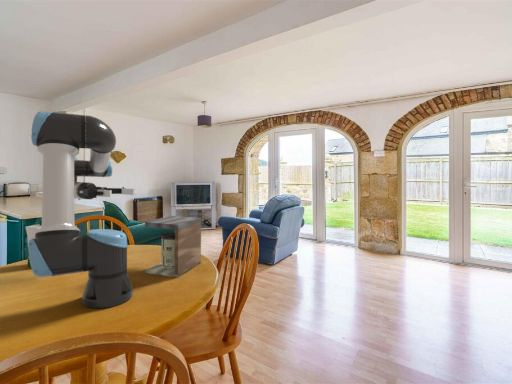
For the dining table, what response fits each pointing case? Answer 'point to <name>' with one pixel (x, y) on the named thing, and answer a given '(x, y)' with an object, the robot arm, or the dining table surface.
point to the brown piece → (180, 244)
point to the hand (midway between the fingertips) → (123, 192)
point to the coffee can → (168, 250)
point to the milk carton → (32, 234)
